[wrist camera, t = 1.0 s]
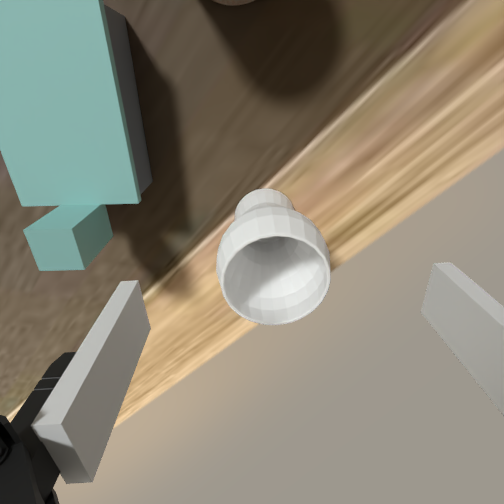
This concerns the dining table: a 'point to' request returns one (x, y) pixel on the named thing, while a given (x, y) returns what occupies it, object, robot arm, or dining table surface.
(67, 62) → the lid
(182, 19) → the dining table surface
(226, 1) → the planter
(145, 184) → the tub
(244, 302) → the cup
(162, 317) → the dining table surface
